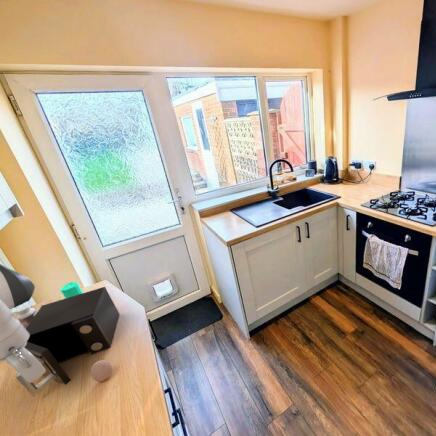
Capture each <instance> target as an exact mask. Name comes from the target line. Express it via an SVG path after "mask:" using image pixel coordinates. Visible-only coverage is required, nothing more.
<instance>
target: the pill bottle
mask: <svg viewBox="0 0 436 436" xmlns="http://www.w3.org/2000/svg"><path fill="white" fill-rule="evenodd" d="M37 312H38V311H37V310H36V309H35V308H34V307H31V306H30V305H29V304H24V305H20V306H18V308H16V309H15V313H16V319H17V320H19V321H20V322H21V324H22V325H23V326H24V327H25V329H26V328H27V326H28V325H29V324H30V322H31V321H32V319H33V318H34V316H35V315H36V314H37Z"/></svg>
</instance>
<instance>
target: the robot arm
mask: <svg viewBox="0 0 436 436" xmlns="http://www.w3.org/2000/svg"><path fill="white" fill-rule="evenodd" d="M35 288H36V286H35V284H34V283H33V281H32V280H31V279H30V278H29V277H27V276H25V275H24V274H22V273H20V272H18V271H15V270H14V269H11V268H9V267H7V266H5V265H3V264H1V263H0V362H3V361H4V362H5V363H6V364H7V365H9V366H10V367H11V368H12V369H13V370H14V371H15V372H16V374H17V373H18V374H20V375H21V376H22V377H23V378H24V379H25V380H26V381H27V382H29V383H34V382H37V381H38V380H40V379H41V378H42V376H43V374H44V373H45V372H46V370H45V368H44V367H43V365H42V364H41V363H40V362H39V361H38V360H37V359H36V357H35V356H34V355H33V354H32V353H31V352H29V351H28V350H27V349H26V348H24V347H25V346H26V344H27V340H28V339H29V336H30V334H29V332H28V331H27V330H26V329H25V327H24V326H23V325H22V324H21V322H20V321H19V320H18V319H17V318H16V317H14V316H13V312H12V309H15V308H17V307H20V306H22V305H23V304H25V303H27V302H29V301H30V300H31V299H32V297H33V295H34V292H35Z"/></svg>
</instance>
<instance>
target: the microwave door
mask: <svg viewBox="0 0 436 436" xmlns="http://www.w3.org/2000/svg"><path fill="white" fill-rule="evenodd" d="M24 348H26V349H27V350H28V351H29V352H31V353H32V354H33V355H34V356H35V357H36V359H37V360H38V361H39V362H40V363H41V364H42V365H43V367H44V368H45V370H46V372H45V373H44V374H43V375H42V376H43V377H45V378H43V379H42V380H41V381H40V382H39V383H38V384H34V382H32V383H29V382H27V381H26V380H25V379H24V378H23V377H22V376H21V375H20V374H18V373H17V372H16V374H15V376H14V377H15V379H17V380H18V382H19V383H20V384H21V385H22V386H23V387H24V388H25V390H27V391H28V393H29V394H30V395H31V396H32V397H36V396H38V395H39V394H40V393H41V392H43V390H45V389H46V388H47V387H48V386H49V385H50V384H52V382H54V381H55V382H57V383H60V384H62V385H65V386H66V385H68V384H69V383H70V382H71V381H72V378H70V376H69V375H68V374H67V372H66V371H65V369H64V368H63V367H62V365H61V363H60V364H59V363H58V362H57V361H56V359H55V358H54V357H53V355H52V354H51V353H50V351H49V350H48V349H47V348H44V347H41V346H38V345H35V344H32V343H29V342H27V344H26V346H25V347H24Z"/></svg>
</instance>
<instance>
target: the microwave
mask: <svg viewBox="0 0 436 436" xmlns="http://www.w3.org/2000/svg"><path fill="white" fill-rule="evenodd" d="M36 312H37V314H36V315H35V316H34V318H33V319H32V321H31V322H30V324H29V325H28V326H27V328H26V330H27V331H28V332H29V334H30V336H29V339H28V340H27V342H29V343H32V344H35V345H38V346H41V347H44V348H47V349H48V350H49V351H50V353H51V354H52V355H53V357H54V358H55V359H56V361H57V362H58V363H59V364H60V365H61V364H63V363H65V362H67V361H70V360H73V359H76V358H78V357H81V356H84V355H86V354H90V355H94V354H96V353H99V352H102V351H105V350H108V349H110V348H111V347H112V345H113V341H114V338H115V334H116V331H117V327H118V323H119V319H120V315H121V314H120V312H119V310H118V309H117V307H116V305H115V303H114V301H113V299H112V297H111V295H110V293H109V291H108V290H107V287H105V286H103V287H99V288H96V289H92V290H89V291H86V292H83V293H82V294H79V295H76V296H72V297H69V298H61V299H59V300H56V301H53V302H49V303H46V304H42V305H41V306H40V308H39V309H38V310H37V311H36Z"/></svg>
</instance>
